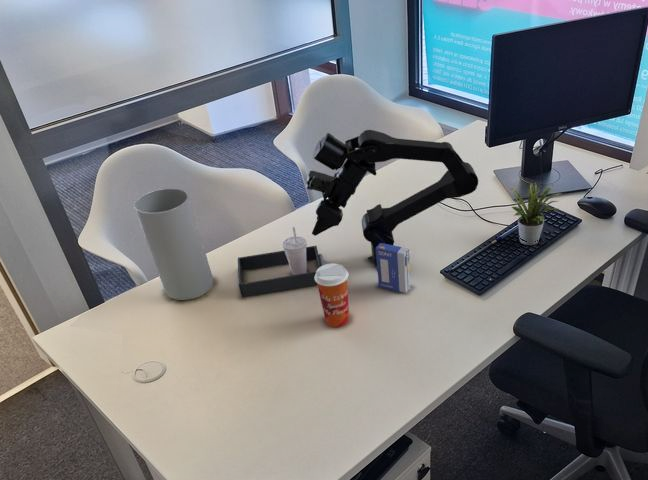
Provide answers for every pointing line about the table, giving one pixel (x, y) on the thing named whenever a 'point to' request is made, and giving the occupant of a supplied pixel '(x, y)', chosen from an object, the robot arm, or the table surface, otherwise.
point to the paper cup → (333, 293)
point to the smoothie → (296, 253)
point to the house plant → (532, 215)
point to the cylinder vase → (175, 243)
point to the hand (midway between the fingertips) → (315, 227)
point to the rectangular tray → (280, 282)
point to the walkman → (393, 267)
